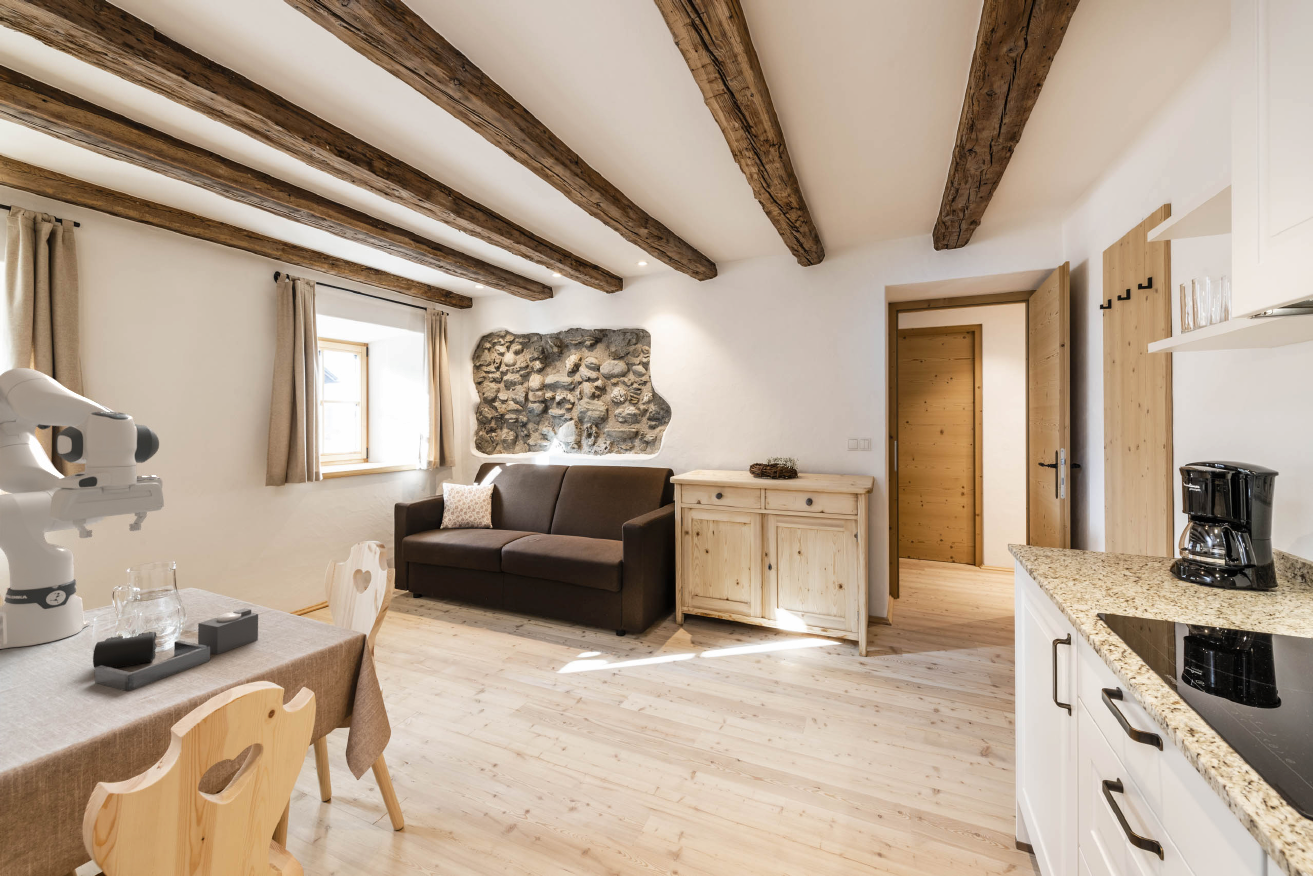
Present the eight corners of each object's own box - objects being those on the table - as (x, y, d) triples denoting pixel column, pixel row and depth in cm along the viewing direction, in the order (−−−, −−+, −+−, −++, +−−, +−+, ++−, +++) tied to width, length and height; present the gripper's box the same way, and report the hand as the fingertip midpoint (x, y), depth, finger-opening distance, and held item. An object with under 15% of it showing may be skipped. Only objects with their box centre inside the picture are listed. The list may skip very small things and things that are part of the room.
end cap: (92, 676, 119) (92, 646, 119) (101, 664, 125) (102, 636, 125) (152, 665, 125) (152, 637, 125) (158, 655, 131) (159, 628, 131)
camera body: (197, 650, 134) (198, 619, 134) (239, 636, 143) (239, 607, 143) (217, 654, 132) (217, 623, 132) (257, 639, 141) (258, 610, 141)
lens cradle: (95, 682, 116) (95, 667, 116) (178, 654, 132) (179, 640, 132) (127, 691, 113) (128, 675, 113) (209, 660, 128) (210, 646, 128)
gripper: (153, 474, 139) (153, 526, 139) (45, 480, 120) (45, 541, 120) (170, 475, 137) (170, 527, 138) (63, 481, 118) (63, 543, 118)
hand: (111, 534), depth 129 cm, fingers open, 8 cm apart
